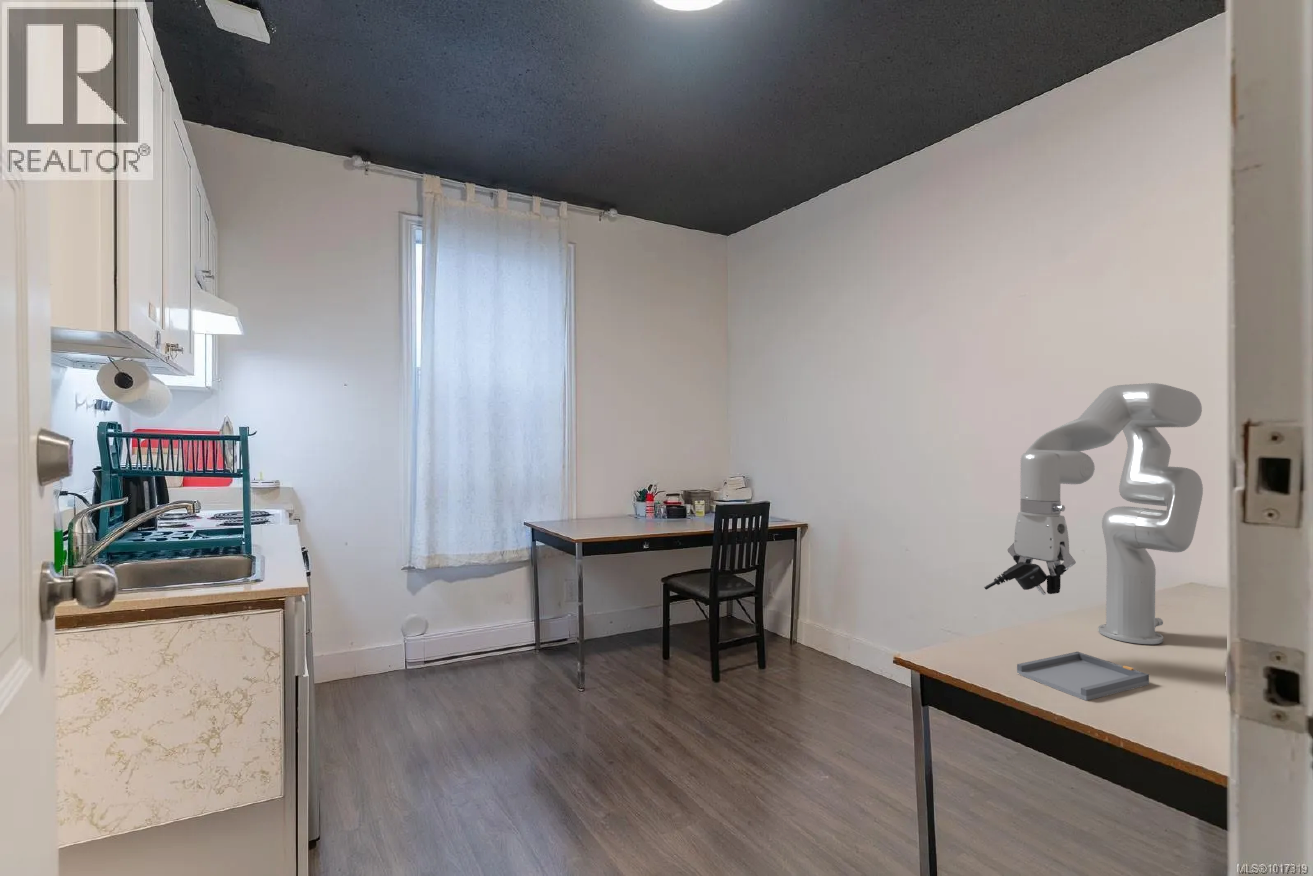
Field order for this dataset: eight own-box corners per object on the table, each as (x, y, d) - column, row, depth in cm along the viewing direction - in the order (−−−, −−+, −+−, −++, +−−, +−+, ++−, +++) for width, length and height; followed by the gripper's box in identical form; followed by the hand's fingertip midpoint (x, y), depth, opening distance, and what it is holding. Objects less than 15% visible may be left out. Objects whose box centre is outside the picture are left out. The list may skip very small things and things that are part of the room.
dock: (1077, 660, 137) (1077, 650, 137) (1148, 684, 124) (1148, 673, 124) (1016, 673, 129) (1017, 662, 129) (1086, 700, 116) (1086, 688, 116)
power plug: (980, 582, 143) (1028, 554, 139) (1001, 610, 141) (1051, 582, 138) (985, 588, 137) (1035, 559, 134) (1007, 618, 136) (1059, 589, 133)
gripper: (1091, 511, 131) (1090, 597, 131) (1016, 502, 147) (1016, 579, 147) (1066, 513, 128) (1066, 601, 128) (993, 504, 144) (993, 582, 144)
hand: (1039, 589), depth 138 cm, fingers closed on power plug, 5 cm apart
